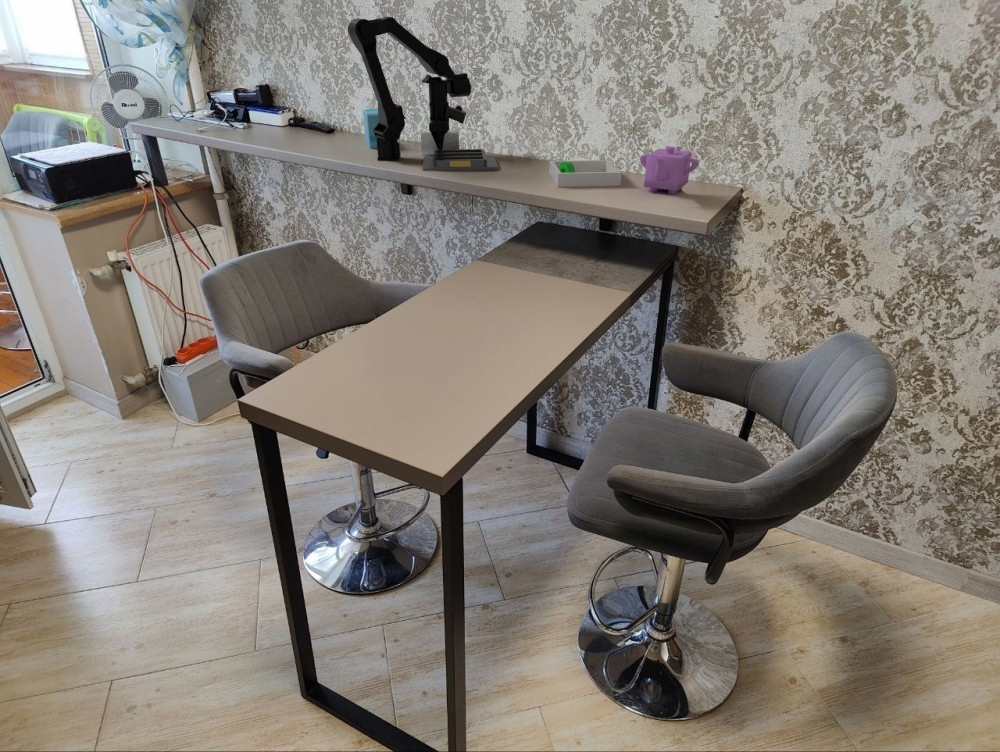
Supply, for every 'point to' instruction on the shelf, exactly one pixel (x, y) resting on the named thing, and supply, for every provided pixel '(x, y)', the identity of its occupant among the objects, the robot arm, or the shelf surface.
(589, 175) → the parts corral
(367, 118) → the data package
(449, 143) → the panel
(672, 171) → the teapot
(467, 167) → the rack
